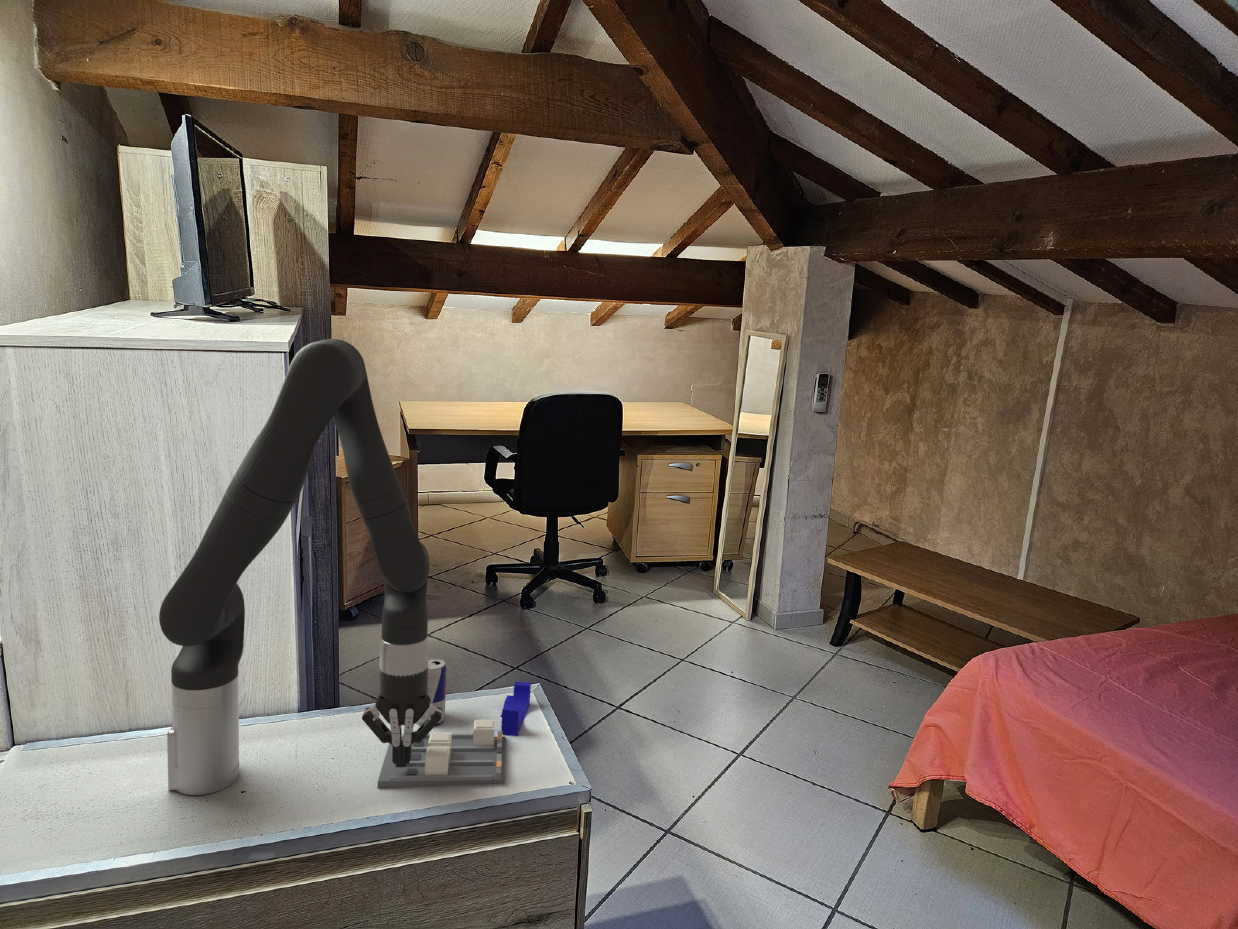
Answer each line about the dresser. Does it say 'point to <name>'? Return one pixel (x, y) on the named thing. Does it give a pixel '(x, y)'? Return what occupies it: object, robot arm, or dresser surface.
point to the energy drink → (436, 687)
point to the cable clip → (515, 709)
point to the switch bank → (463, 765)
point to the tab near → (437, 760)
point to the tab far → (483, 733)
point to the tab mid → (440, 739)
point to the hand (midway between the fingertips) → (401, 764)
